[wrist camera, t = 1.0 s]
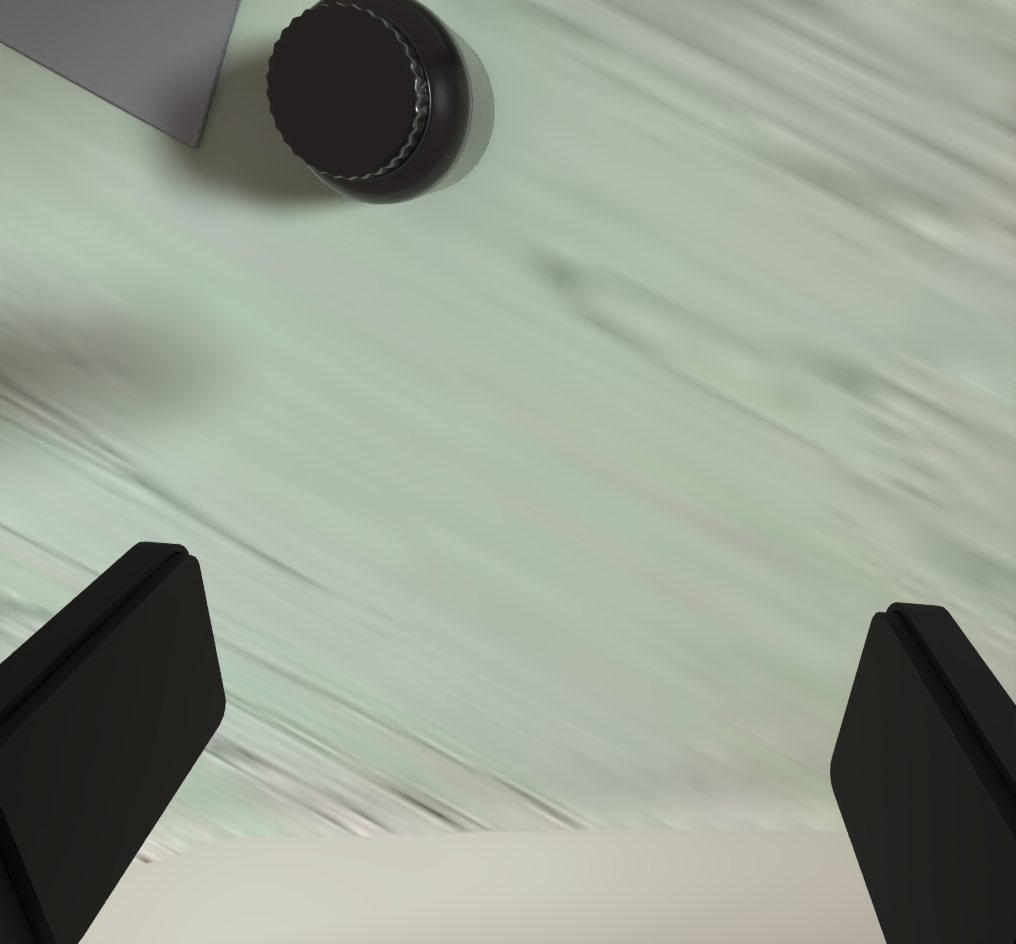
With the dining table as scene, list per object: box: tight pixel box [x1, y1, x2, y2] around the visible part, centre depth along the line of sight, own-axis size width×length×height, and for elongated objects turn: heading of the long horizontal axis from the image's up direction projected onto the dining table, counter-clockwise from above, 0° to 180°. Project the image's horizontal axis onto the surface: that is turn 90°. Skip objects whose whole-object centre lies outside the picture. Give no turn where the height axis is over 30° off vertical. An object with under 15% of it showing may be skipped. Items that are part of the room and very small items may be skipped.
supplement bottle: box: [266, 0, 494, 204], centre depth 27 cm, size 7×7×12 cm
